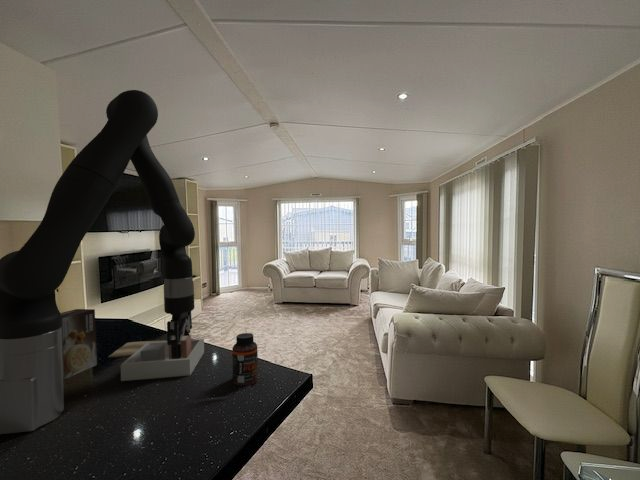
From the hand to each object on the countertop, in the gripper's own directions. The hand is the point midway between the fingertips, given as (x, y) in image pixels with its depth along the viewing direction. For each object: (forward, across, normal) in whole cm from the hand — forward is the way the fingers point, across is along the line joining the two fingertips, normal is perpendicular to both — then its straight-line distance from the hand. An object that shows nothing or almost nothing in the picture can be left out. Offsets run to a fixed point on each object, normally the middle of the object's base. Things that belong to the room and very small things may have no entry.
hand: (181, 352), depth 85 cm
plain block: (+3, 0, +7) cm, 8 cm away
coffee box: (+4, +1, +28) cm, 28 cm away
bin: (+4, 0, +4) cm, 5 cm away
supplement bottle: (+4, -13, -18) cm, 23 cm away
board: (+4, +15, +17) cm, 22 cm away
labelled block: (+3, 0, 0) cm, 3 cm away
